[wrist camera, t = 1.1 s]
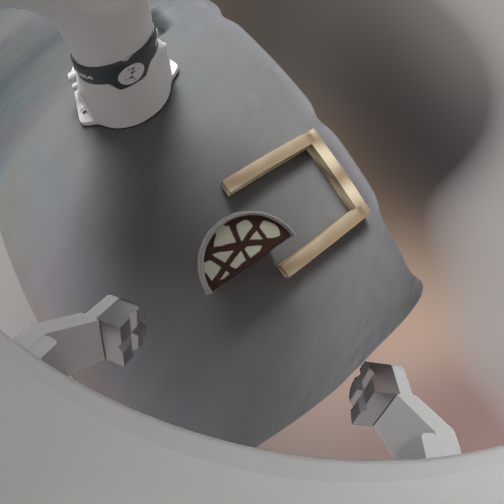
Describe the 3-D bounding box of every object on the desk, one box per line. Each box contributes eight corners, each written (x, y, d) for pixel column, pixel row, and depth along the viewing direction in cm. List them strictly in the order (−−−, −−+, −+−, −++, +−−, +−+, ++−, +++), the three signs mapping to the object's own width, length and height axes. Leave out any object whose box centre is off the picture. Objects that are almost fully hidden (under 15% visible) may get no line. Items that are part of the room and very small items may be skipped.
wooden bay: (220, 186, 41) (222, 180, 38) (307, 135, 44) (313, 128, 41) (283, 277, 42) (289, 277, 39) (363, 215, 45) (371, 212, 42)
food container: (252, 205, 42) (268, 186, 32) (276, 241, 42) (299, 232, 32) (180, 253, 39) (174, 248, 29) (205, 290, 40) (207, 296, 30)
